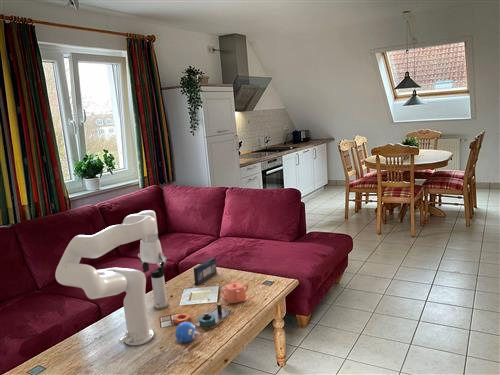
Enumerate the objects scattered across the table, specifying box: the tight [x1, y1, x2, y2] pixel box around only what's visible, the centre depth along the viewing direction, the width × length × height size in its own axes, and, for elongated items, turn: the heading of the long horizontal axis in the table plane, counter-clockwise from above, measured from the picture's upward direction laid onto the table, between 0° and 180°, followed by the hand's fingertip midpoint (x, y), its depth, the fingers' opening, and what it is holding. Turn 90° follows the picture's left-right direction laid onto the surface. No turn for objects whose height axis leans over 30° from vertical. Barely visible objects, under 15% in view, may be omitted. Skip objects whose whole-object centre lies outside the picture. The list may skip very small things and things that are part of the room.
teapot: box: [222, 282, 250, 304], centre depth 215 cm, size 12×12×10 cm
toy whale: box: [174, 321, 203, 344], centre depth 179 cm, size 12×12×8 cm
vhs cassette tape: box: [193, 257, 218, 286], centre depth 246 cm, size 18×3×10 cm, turn 147°
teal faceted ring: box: [198, 313, 217, 328], centre depth 193 cm, size 7×7×2 cm
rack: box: [195, 302, 232, 329], centre depth 197 cm, size 18×8×6 cm, turn 149°
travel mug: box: [150, 268, 168, 310], centre depth 213 cm, size 6×7×20 cm
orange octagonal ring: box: [173, 312, 191, 325], centre depth 198 cm, size 7×7×2 cm
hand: (153, 273), depth 195 cm, fingers open, 9 cm apart
